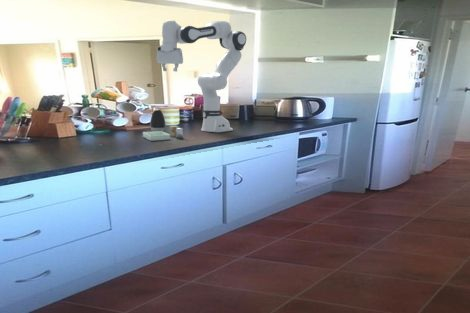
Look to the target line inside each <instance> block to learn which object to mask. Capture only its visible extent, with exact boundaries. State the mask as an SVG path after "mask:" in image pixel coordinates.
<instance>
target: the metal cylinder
mask: <svg viewBox="0 0 470 313" xmlns="http://www.w3.org/2000/svg"><path fill="white" fill-rule="evenodd" d="M175 138H176V139H179V140H180V139H184V128H182V127H178V128H176V136H175Z"/></svg>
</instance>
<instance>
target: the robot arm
mask: <svg viewBox="0 0 470 313" xmlns="http://www.w3.org/2000/svg"><path fill="white" fill-rule="evenodd" d="M161 29H162V30H161V31H162V32H161V36H162V42H161V44H160V46H158V47H156V51H157V52H156V62H157V64H161V67H162V71H163V72H167V70H168V68H166V64H167V65H169V64H170V65H171V64H172V65H173V64H174V68H173V69H172V70H173V72H178V68H179V64H180V65H182V64H183V63H184V56H183V50H182V48H180V47H178V45H177V44H180V45H181V44H193V43H196V42H197V41H199V40H200V39H203V38H206V39H207V40H217V39H219V45H220V47H222V48H223V49H226V52H225V54H223V56H221V58H220V59H219V60H218V61H217V63H216V65H215V69H214V71H213V72H205V73H202V74H200V75H199V76H198V78H197V84H198V86H199V87H200V89H201V92H202V96H203V110H202V118H203V120H202V126H201V129H200V130H201V131H203V132H210V133H211V132H212V133H222V132H231V131H234V129H233V127H231V125H230V121H229V120H228V119H227V118H225V117H224V114H225V111H224V110H220V108H221V106H220V105H221V99H220V97H219V95H218V94H217V91H221V90H224V89H225V88H226V87H227V85H228V77H229V75H230V74H231V72H232V71H233V70H235V68H236V67H237V66H238V64H239V62H240V60H241V59H242V56H243V55H242V51H243V50H244V47H245V46H246V44H247V36H246V34H245V33H244V32H243V31H241V30H240V31H239V30H237V31H233V30H232V26H231V24H230V22H228V21H226V20H215V21H210V22H207V23H205V25H204V26H201V27H196V26H193V25H187V26H181V25H180V24H178V23H177V21H176V20H166V21H164V22H163V23H162V28H161Z"/></svg>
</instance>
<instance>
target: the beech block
mask: <svg viewBox="0 0 470 313" xmlns="http://www.w3.org/2000/svg"><path fill="white" fill-rule="evenodd" d="M176 128H179V126H177V125H169V134H170V137H176Z"/></svg>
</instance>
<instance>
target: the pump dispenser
mask: <svg viewBox="0 0 470 313" xmlns="http://www.w3.org/2000/svg"><path fill="white" fill-rule="evenodd" d="M149 121H150V122H149V127H150V130H151V132H154V131H163V132H165V130H166V128H167V125H166V124H167V123H166V119H165V116H164V113H163V112H162V110H161V109H159V108H157V109H154V111H153V112H152V113H151V117H150V120H149Z"/></svg>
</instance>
